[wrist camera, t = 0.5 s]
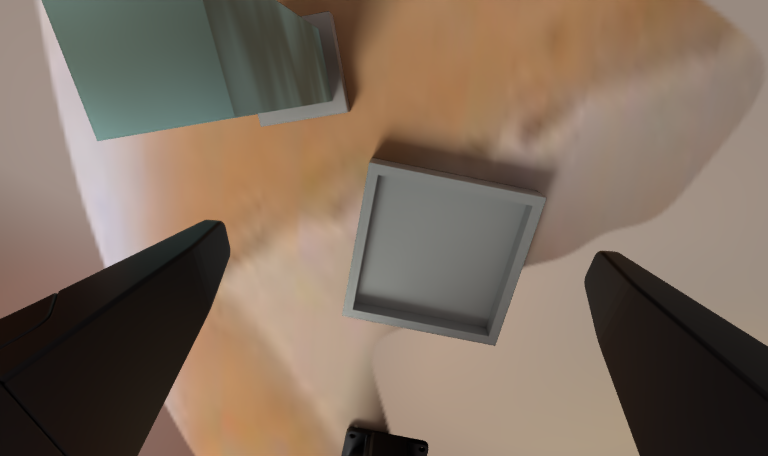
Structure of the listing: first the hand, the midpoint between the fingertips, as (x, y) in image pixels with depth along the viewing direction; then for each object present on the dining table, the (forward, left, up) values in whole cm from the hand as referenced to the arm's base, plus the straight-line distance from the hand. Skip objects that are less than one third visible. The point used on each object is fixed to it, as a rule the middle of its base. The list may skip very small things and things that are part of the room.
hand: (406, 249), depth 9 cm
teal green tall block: (+3, +7, -15) cm, 16 cm away
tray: (-6, -3, -15) cm, 16 cm away
